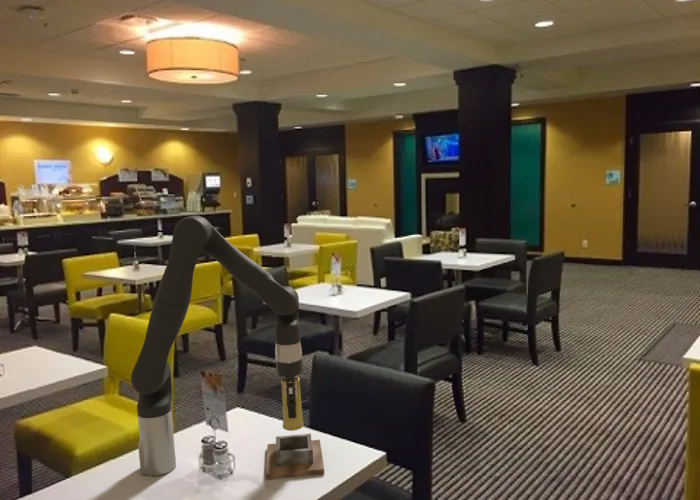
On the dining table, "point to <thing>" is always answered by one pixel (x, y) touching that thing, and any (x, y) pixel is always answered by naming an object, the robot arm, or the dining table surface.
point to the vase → (298, 421)
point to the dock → (294, 457)
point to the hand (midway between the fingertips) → (292, 413)
